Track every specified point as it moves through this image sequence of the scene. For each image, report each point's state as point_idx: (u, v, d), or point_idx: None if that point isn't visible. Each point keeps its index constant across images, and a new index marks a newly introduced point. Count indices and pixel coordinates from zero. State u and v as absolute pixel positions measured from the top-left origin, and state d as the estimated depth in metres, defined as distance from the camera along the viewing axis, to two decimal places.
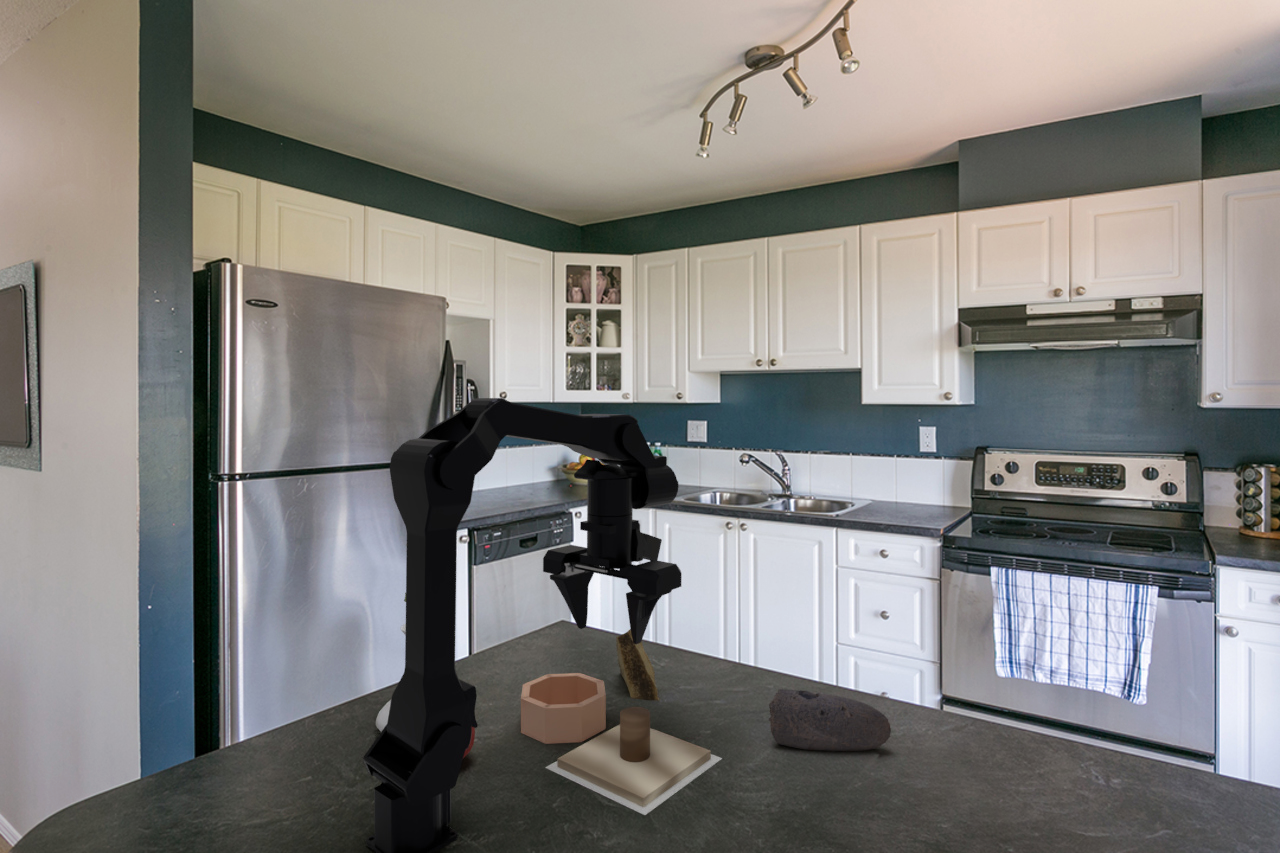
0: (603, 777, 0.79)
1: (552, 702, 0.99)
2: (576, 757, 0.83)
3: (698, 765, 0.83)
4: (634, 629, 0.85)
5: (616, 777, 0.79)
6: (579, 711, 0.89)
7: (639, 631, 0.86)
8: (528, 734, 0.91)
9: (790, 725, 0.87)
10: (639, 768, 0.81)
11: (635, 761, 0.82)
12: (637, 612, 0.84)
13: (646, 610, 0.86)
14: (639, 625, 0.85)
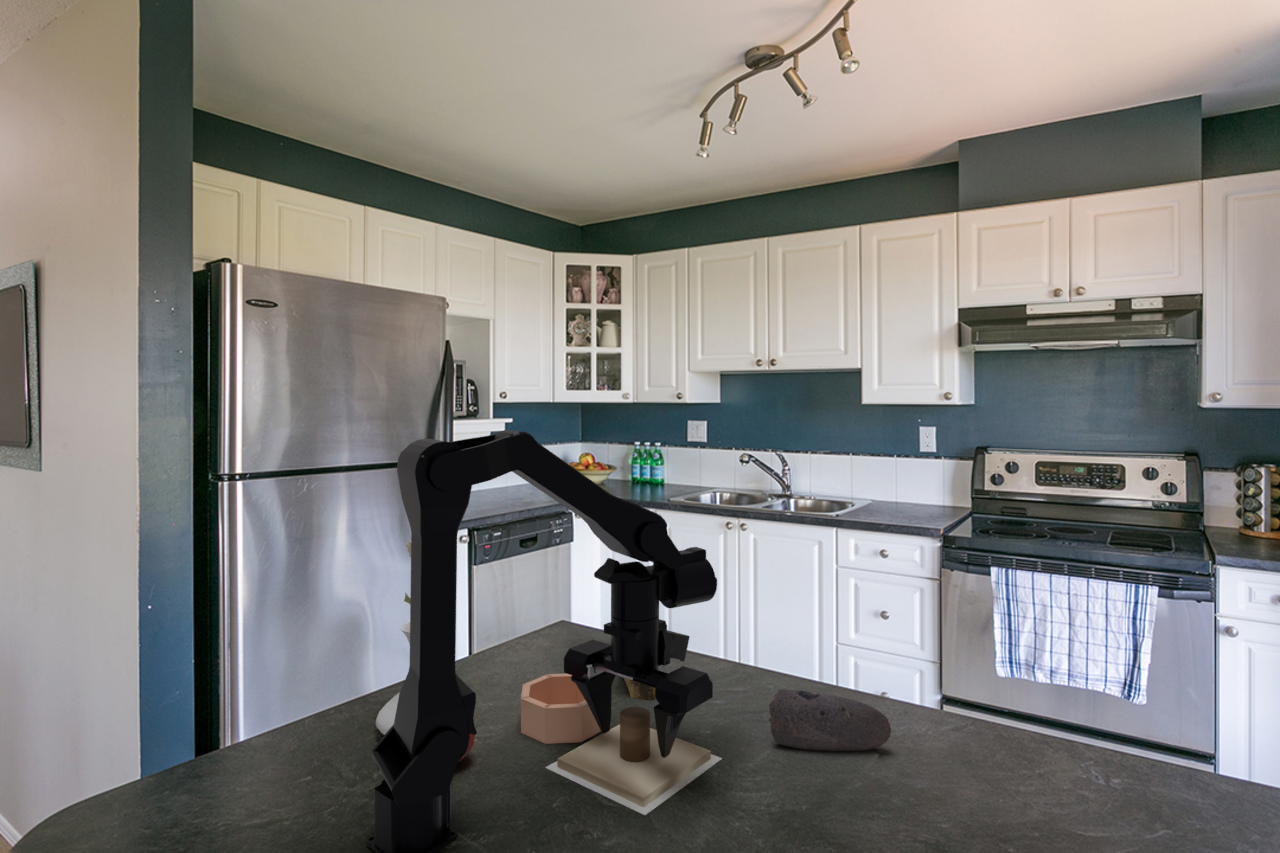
0: (603, 777, 0.79)
1: (552, 702, 0.99)
2: (576, 757, 0.83)
3: (698, 765, 0.83)
4: (662, 743, 0.80)
5: (616, 777, 0.79)
6: (579, 711, 0.89)
7: (667, 744, 0.80)
8: (528, 734, 0.91)
9: (790, 726, 0.87)
10: (639, 768, 0.81)
11: (635, 761, 0.82)
12: (666, 727, 0.78)
13: (675, 722, 0.80)
14: (668, 738, 0.80)
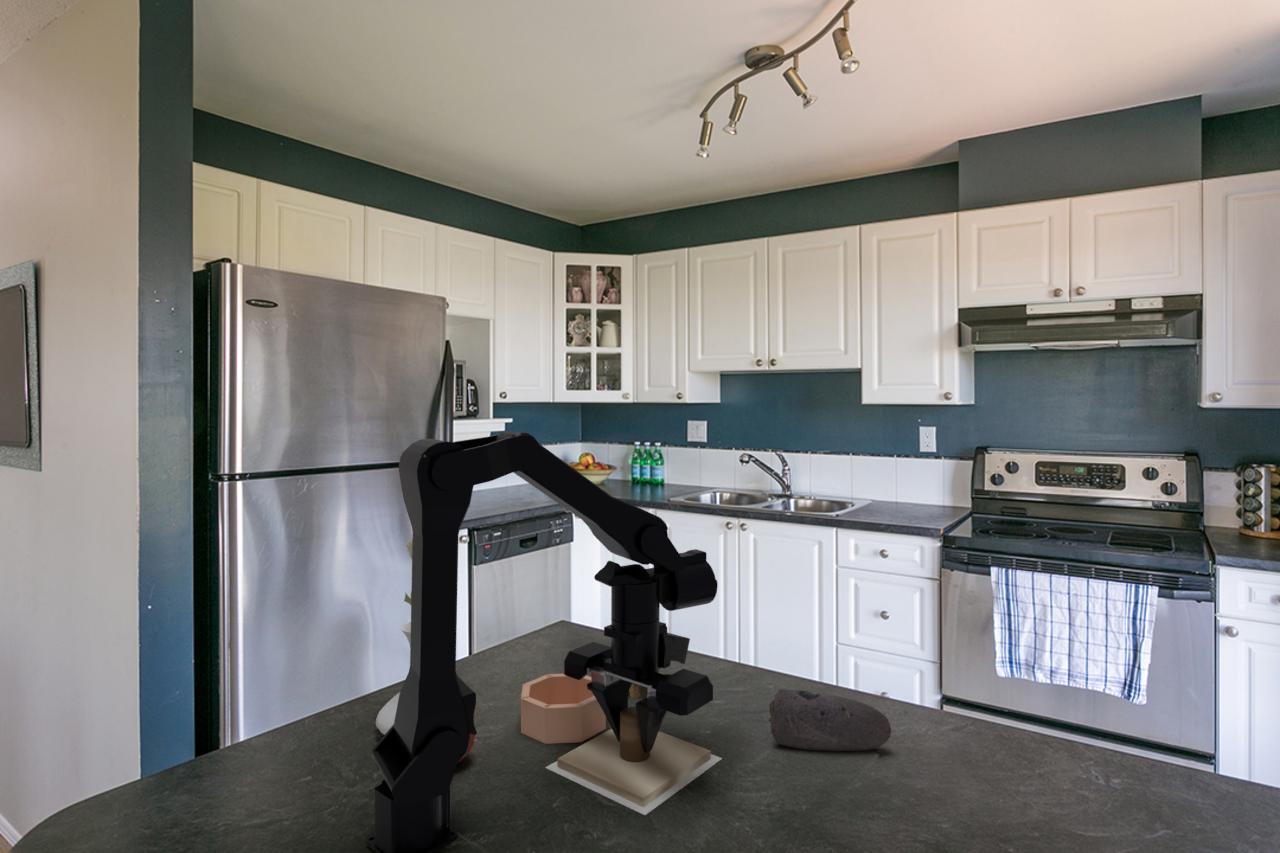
0: (603, 777, 0.79)
1: (552, 702, 0.99)
2: (576, 757, 0.83)
3: (698, 765, 0.83)
4: (644, 738, 0.81)
5: (616, 777, 0.79)
6: (579, 711, 0.89)
7: (650, 740, 0.82)
8: (528, 734, 0.91)
9: (790, 726, 0.87)
10: (639, 768, 0.81)
11: (635, 761, 0.82)
12: (647, 723, 0.80)
13: (657, 718, 0.82)
14: (650, 734, 0.81)
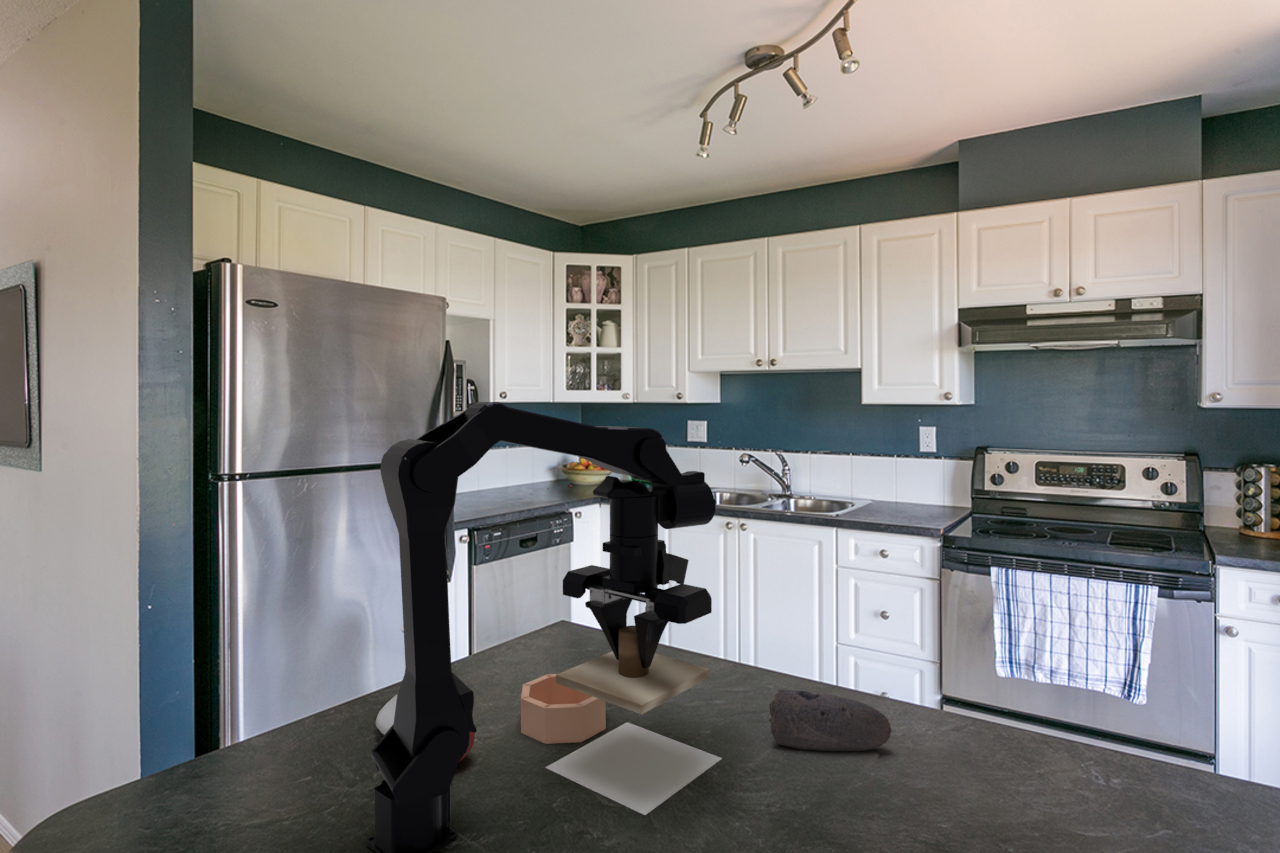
0: (601, 689, 0.79)
1: (552, 702, 0.99)
2: (575, 674, 0.83)
3: (697, 681, 0.83)
4: (643, 653, 0.81)
5: (614, 689, 0.79)
6: (579, 711, 0.89)
7: (648, 655, 0.82)
8: (528, 734, 0.91)
9: (790, 726, 0.87)
10: (637, 682, 0.81)
11: (634, 676, 0.82)
12: (646, 636, 0.80)
13: (655, 633, 0.82)
14: (648, 648, 0.81)
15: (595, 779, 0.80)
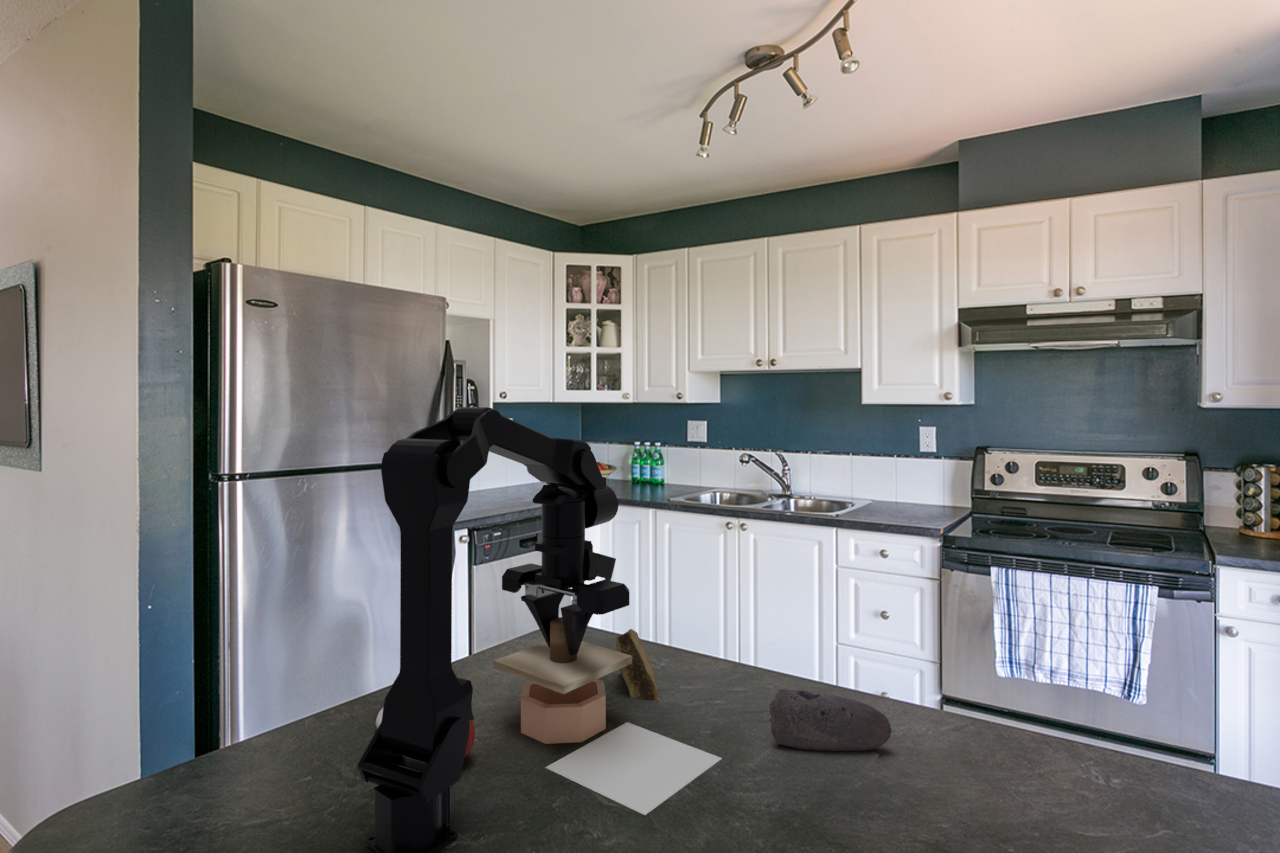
0: (531, 672, 0.89)
1: (552, 702, 0.99)
2: (510, 660, 0.93)
3: (619, 666, 0.93)
4: (570, 641, 0.91)
5: (542, 672, 0.89)
6: (579, 711, 0.89)
7: (575, 643, 0.92)
8: (528, 734, 0.91)
9: (790, 726, 0.87)
10: (564, 667, 0.91)
11: (562, 662, 0.92)
12: (571, 625, 0.90)
13: (581, 623, 0.92)
14: (575, 637, 0.91)
15: (595, 779, 0.80)
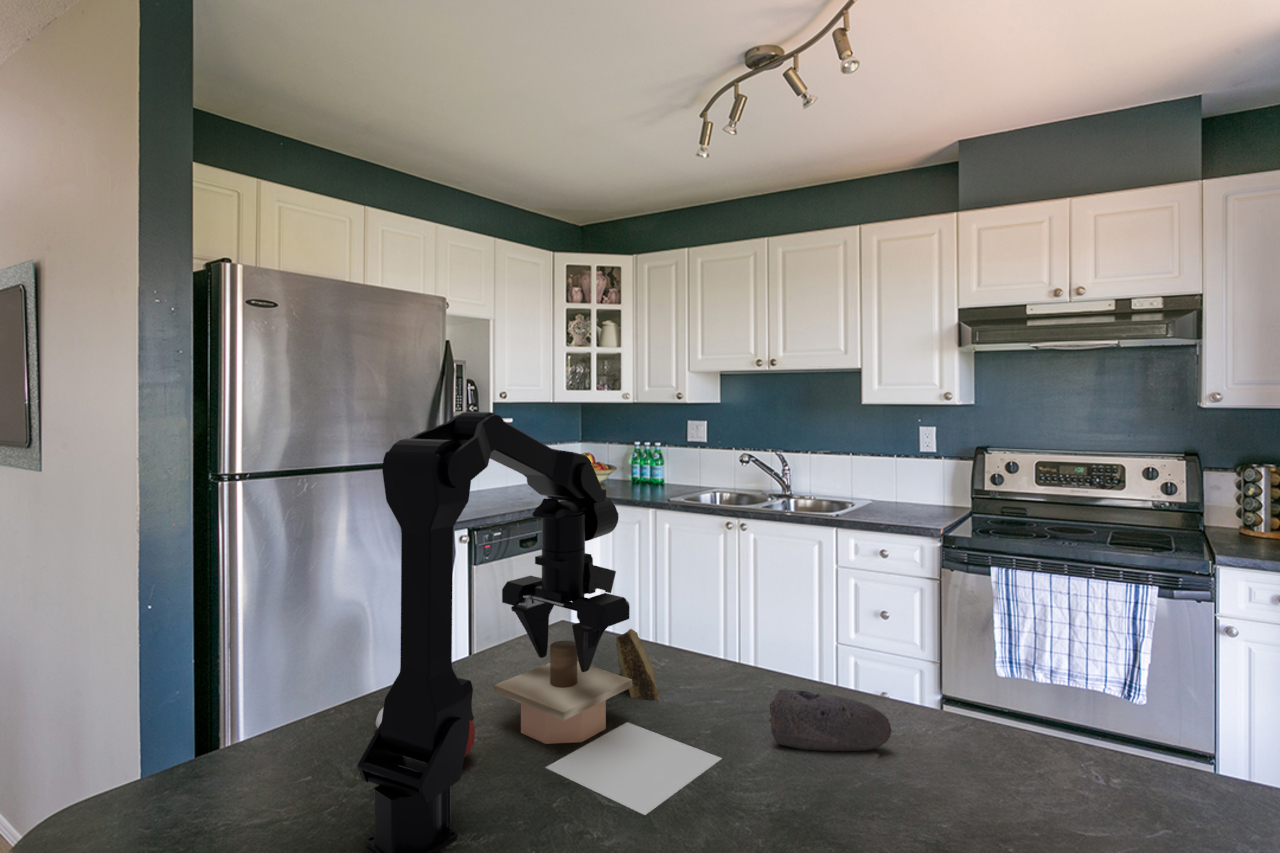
0: (531, 698, 0.89)
1: None
2: (511, 684, 0.93)
3: (619, 690, 0.93)
4: (581, 658, 0.90)
5: (543, 698, 0.89)
6: None
7: (586, 660, 0.91)
8: (528, 734, 0.91)
9: (790, 726, 0.87)
10: (564, 692, 0.91)
11: (562, 686, 0.92)
12: (583, 643, 0.89)
13: (593, 640, 0.91)
14: (586, 654, 0.90)
15: (595, 779, 0.80)
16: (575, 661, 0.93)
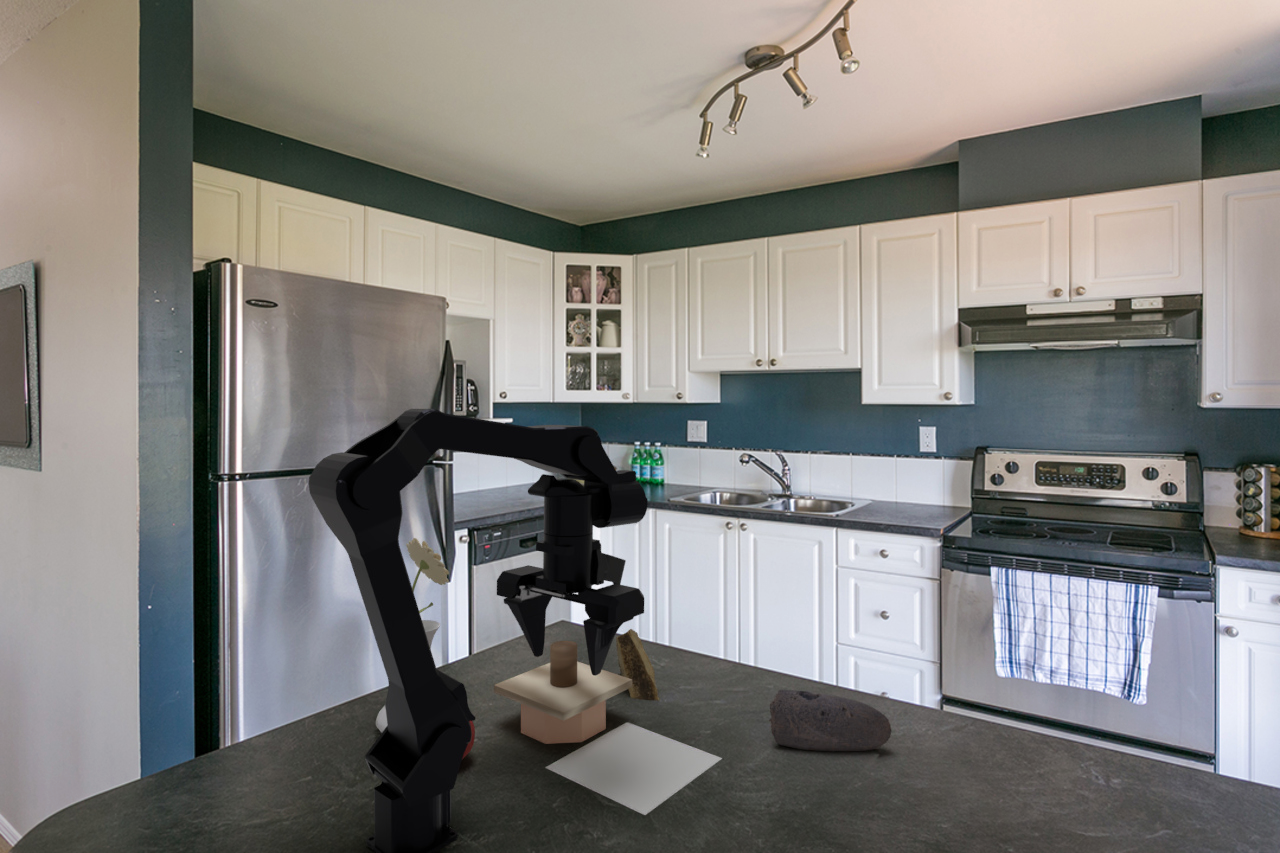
0: (531, 698, 0.89)
1: None
2: (511, 684, 0.93)
3: (619, 690, 0.93)
4: (592, 659, 0.78)
5: (543, 698, 0.89)
6: None
7: (598, 661, 0.79)
8: (528, 734, 0.91)
9: (790, 726, 0.87)
10: (564, 692, 0.91)
11: (562, 686, 0.92)
12: (595, 641, 0.77)
13: (606, 638, 0.79)
14: (598, 654, 0.79)
15: (595, 779, 0.80)
16: (575, 661, 0.93)
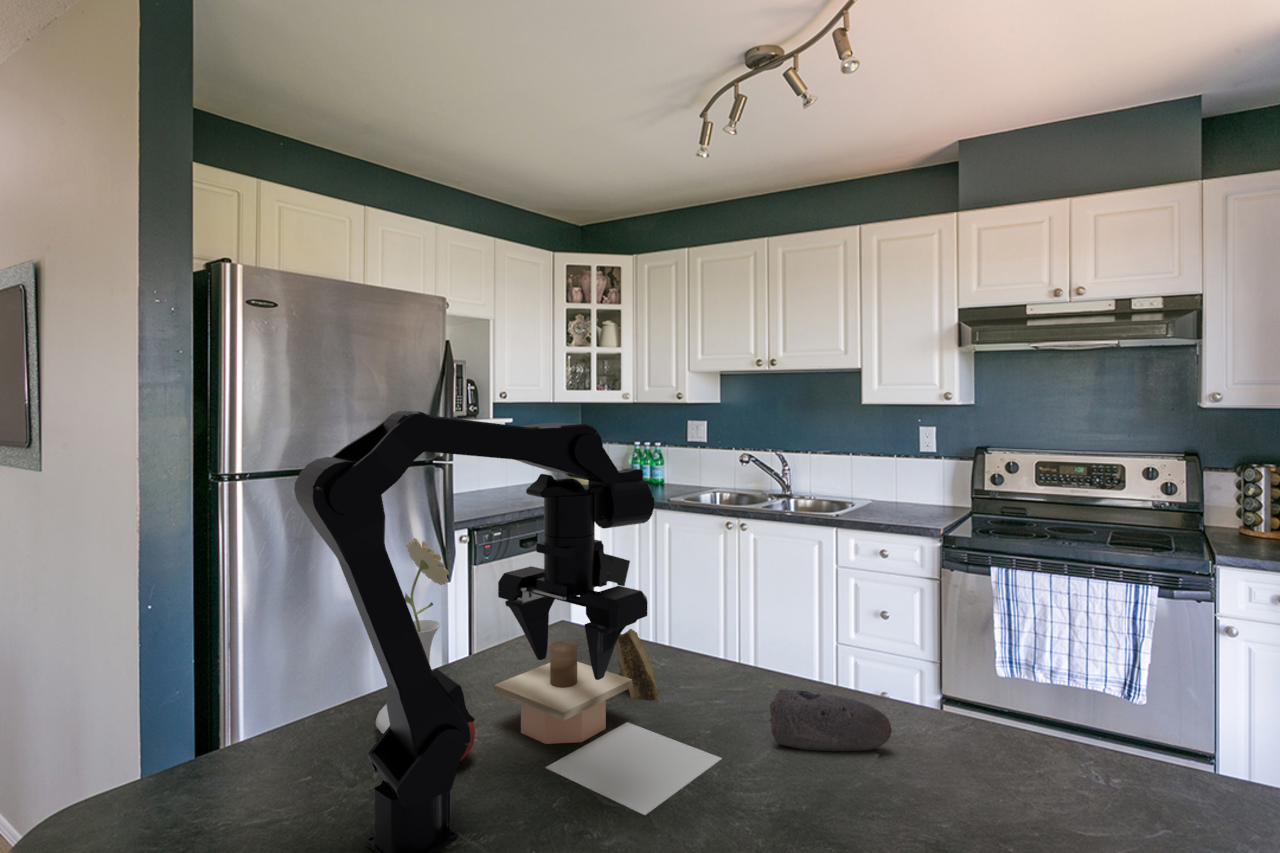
0: (531, 698, 0.89)
1: None
2: (511, 684, 0.93)
3: (619, 690, 0.93)
4: (595, 664, 0.76)
5: (543, 698, 0.89)
6: None
7: (601, 665, 0.77)
8: (528, 734, 0.91)
9: (790, 726, 0.87)
10: (564, 692, 0.91)
11: (562, 686, 0.92)
12: (597, 645, 0.75)
13: (608, 642, 0.77)
14: (601, 658, 0.76)
15: (595, 779, 0.80)
16: (575, 661, 0.93)
